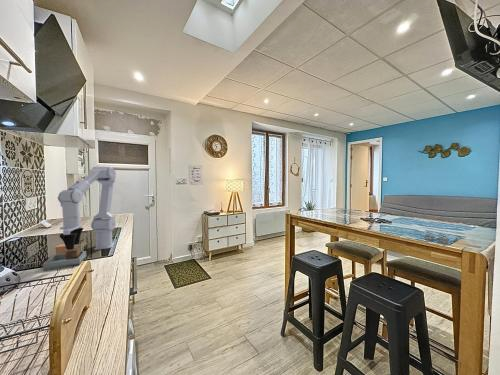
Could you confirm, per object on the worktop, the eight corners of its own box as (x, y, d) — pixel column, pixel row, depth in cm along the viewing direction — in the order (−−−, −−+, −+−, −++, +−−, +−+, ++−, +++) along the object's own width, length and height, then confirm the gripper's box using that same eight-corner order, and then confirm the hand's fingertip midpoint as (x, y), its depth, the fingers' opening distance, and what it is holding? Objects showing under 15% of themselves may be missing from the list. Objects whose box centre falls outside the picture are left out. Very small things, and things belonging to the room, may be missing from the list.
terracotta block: (59, 254, 104) (58, 244, 104) (69, 253, 106) (69, 243, 105) (56, 257, 100) (55, 247, 100) (66, 256, 102) (66, 245, 102)
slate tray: (54, 261, 96) (53, 255, 96) (86, 256, 101) (86, 250, 101) (43, 270, 86) (42, 264, 86) (79, 265, 91) (79, 258, 91)
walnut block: (80, 258, 97) (79, 247, 97) (77, 261, 93) (77, 250, 93) (69, 259, 95) (68, 248, 95) (66, 262, 92) (65, 251, 91)
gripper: (65, 214, 98) (67, 243, 99) (52, 220, 85) (54, 253, 86) (84, 213, 101) (85, 241, 102) (74, 219, 88) (76, 250, 89)
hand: (73, 246), depth 94 cm, fingers open, 7 cm apart
